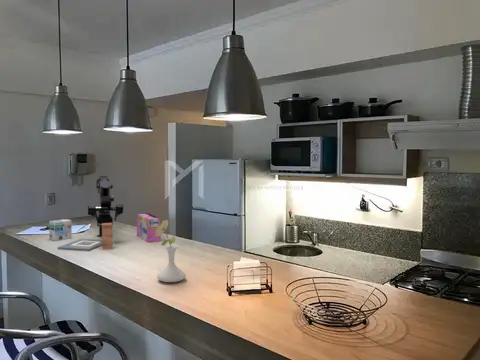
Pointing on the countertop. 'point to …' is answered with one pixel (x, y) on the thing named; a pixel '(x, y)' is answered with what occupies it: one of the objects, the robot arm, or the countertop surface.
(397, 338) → the countertop surface
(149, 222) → the gum box
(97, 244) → the board
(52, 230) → the light bulb box
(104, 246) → the terracotta block
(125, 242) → the countertop surface
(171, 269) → the flower in vase
